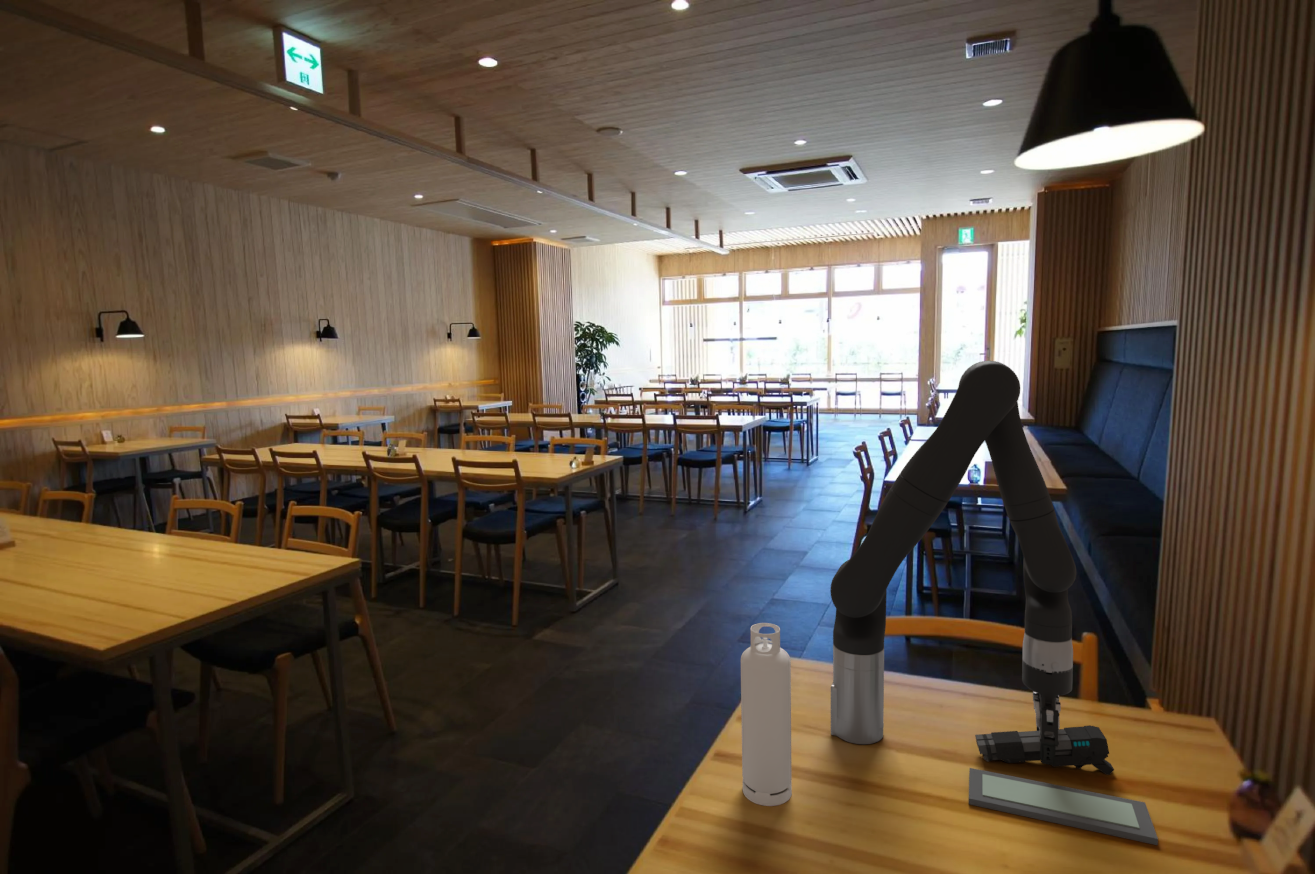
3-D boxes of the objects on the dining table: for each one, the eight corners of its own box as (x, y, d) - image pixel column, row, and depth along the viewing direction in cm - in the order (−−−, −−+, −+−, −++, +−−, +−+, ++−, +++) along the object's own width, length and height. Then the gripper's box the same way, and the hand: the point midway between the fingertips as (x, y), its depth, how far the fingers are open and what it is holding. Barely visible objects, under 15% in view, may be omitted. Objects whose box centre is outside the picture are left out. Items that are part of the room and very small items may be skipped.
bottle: (795, 780, 120) (794, 621, 117) (787, 809, 112) (786, 640, 109) (748, 772, 122) (745, 617, 119) (737, 800, 115) (735, 635, 112)
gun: (1121, 778, 117) (1100, 722, 117) (997, 800, 123) (977, 747, 123) (1111, 763, 122) (1091, 709, 121) (992, 785, 127) (973, 733, 127)
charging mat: (968, 804, 112) (968, 796, 112) (969, 773, 120) (969, 766, 120) (1157, 845, 102) (1158, 837, 102) (1144, 808, 110) (1145, 801, 110)
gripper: (1020, 641, 128) (1019, 726, 130) (1024, 674, 115) (1023, 767, 117) (1068, 646, 125) (1066, 733, 127) (1077, 681, 112) (1075, 777, 114)
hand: (1045, 749), depth 122 cm, fingers open, 8 cm apart
